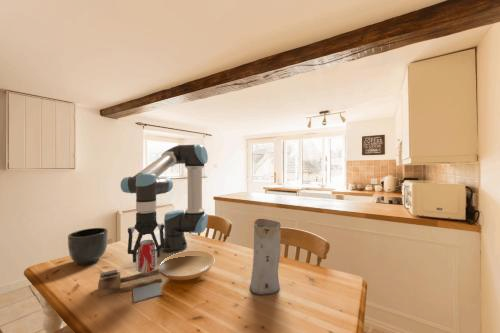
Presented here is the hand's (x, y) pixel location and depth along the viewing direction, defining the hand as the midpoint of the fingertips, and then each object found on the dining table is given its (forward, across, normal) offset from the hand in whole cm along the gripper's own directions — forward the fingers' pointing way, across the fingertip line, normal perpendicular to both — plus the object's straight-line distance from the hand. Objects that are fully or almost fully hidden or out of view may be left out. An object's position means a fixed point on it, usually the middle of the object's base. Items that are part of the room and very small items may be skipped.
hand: (146, 267), depth 89 cm
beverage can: (+2, 0, 0) cm, 2 cm away
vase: (+11, -44, +22) cm, 50 cm away
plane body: (+10, +5, -11) cm, 16 cm away
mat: (+10, 0, 0) cm, 10 cm away
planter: (+10, +24, -48) cm, 54 cm away
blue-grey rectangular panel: (+4, +13, -11) cm, 17 cm away
